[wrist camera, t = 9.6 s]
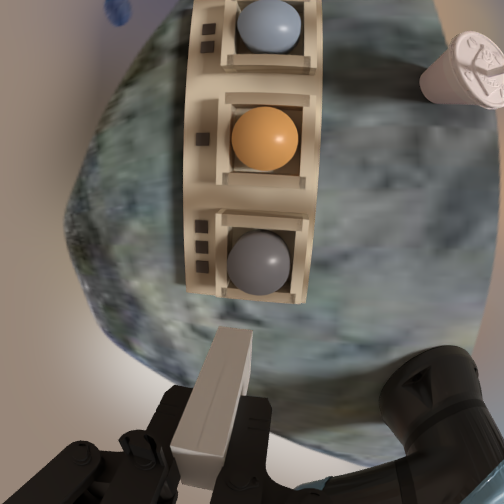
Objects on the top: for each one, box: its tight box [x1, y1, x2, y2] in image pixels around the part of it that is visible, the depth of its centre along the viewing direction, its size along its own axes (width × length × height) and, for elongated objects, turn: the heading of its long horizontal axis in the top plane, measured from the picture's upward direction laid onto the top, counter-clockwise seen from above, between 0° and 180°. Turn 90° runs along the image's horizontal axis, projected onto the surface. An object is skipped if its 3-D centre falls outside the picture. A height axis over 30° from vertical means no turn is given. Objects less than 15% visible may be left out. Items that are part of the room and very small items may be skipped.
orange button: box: [232, 107, 298, 171], centre depth 22 cm, size 5×5×2 cm
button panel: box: [183, 0, 323, 304], centre depth 24 cm, size 30×12×4 cm, turn 178°
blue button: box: [237, 0, 301, 55], centre depth 19 cm, size 5×5×2 cm
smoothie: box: [419, 31, 504, 109], centre depth 15 cm, size 6×6×14 cm
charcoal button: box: [227, 229, 290, 296], centre depth 25 cm, size 5×5×2 cm
